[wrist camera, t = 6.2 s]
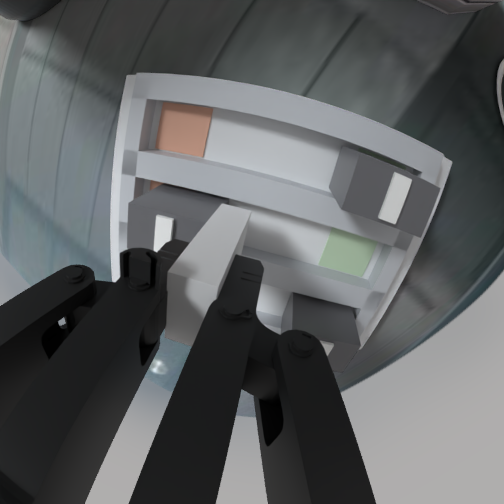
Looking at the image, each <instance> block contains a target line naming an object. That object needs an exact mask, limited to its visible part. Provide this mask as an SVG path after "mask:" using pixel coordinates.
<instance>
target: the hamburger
mask: <svg viewBox="0 0 504 504" xmlns="http://www.w3.org/2000/svg"><path fill="white" fill-rule="evenodd" d="M503 74H504V59H503V60H502V62H501V63H500V66H499V69H498V73H497V97H498V104H499V109H500V114H501V117H502V121H503V124H504V109H503V104H502V96H501V84H502V77H503Z"/></svg>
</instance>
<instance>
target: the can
mask: <svg viewBox="0 0 504 504" xmlns="http://www.w3.org/2000/svg"><path fill="white" fill-rule="evenodd" d="M416 1H418V2H421V3H423V4H425V5H427V6H430V7H432V8H434V9H436V10H438V11H440V12H442V13H444V14H446V15H447V14H457V13H469V12H476V11H478V10H481V9H483V8H485V7H488V6H490V5H493V4H495V3H498V2H500V1H503V0H416Z"/></svg>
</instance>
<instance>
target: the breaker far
mask: <svg viewBox="0 0 504 504" xmlns="http://www.w3.org/2000/svg"><path fill="white" fill-rule="evenodd" d="M295 329H297V330H302V331H306V332H308V333H310V334H312V335H314V336H315V337H316V338H317V339H318V340H319V341H320V342H321V344H322V345H323V347H324V349H325V352H326V355H327V357H328V360H329V363H330V366H331V368H332V371H336V372H343V371H344V370H345V368H346V367H347V365H348V364H349V363H350V361H351V360H352V358H353V357H354V355H355V354H356V353H357V351H358V350H359V348H360V347H361V343H360V339H359V335H358V330H357V326H356V322H355V318H354V314H353V310H352V307H351V306H347V305H343V304H339V303H335V302H331V301H327V300H323V299H319V298H315V297H311V296H307V295H303V294H299V293H295V292H291V295H290V297H289V300H288V302H287V305H286V307H285V310H284V313H283V315H282V323H281V333H283V332H285V331H287V330H295Z"/></svg>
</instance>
